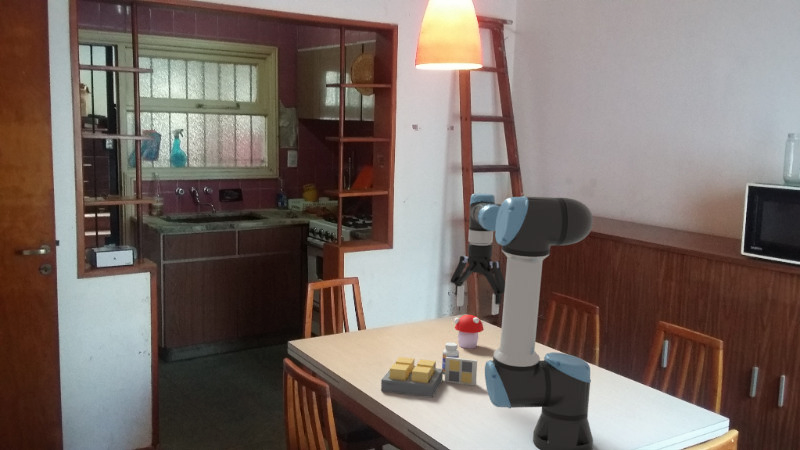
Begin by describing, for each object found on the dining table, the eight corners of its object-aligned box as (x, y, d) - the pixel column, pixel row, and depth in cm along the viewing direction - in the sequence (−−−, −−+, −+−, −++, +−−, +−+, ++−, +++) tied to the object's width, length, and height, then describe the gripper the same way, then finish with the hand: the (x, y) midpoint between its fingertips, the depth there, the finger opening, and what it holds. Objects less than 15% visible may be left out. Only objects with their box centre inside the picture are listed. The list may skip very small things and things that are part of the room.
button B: (405, 382, 220) (405, 370, 220) (389, 381, 221) (389, 368, 221) (409, 377, 225) (409, 365, 224) (393, 375, 226) (393, 363, 226)
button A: (427, 385, 218) (427, 372, 218) (411, 383, 220) (411, 371, 219) (430, 380, 223) (431, 367, 223) (415, 378, 224) (415, 366, 224)
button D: (410, 375, 227) (410, 363, 226) (395, 373, 228) (395, 361, 228) (414, 370, 232) (414, 358, 231) (399, 368, 233) (399, 356, 232)
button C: (432, 378, 225) (432, 365, 225) (416, 376, 226) (417, 364, 226) (435, 373, 230) (435, 361, 229) (420, 371, 231) (420, 359, 231)
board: (432, 397, 216) (432, 385, 216) (381, 390, 220) (381, 379, 220) (442, 379, 232) (442, 369, 231) (394, 374, 236) (394, 363, 235)
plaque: (475, 385, 227) (476, 361, 226) (444, 382, 230) (445, 357, 229) (476, 384, 229) (477, 360, 228) (445, 380, 231) (446, 356, 230)
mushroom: (448, 343, 272) (449, 312, 271) (473, 340, 277) (474, 309, 275) (462, 351, 263) (463, 319, 261) (488, 348, 267) (489, 316, 266)
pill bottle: (439, 373, 238) (440, 344, 237) (445, 368, 243) (447, 340, 242) (454, 376, 236) (455, 347, 234) (460, 371, 240) (461, 343, 239)
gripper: (521, 247, 218) (517, 315, 221) (456, 237, 234) (453, 300, 237) (507, 250, 212) (503, 319, 215) (441, 239, 229) (438, 304, 232)
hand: (477, 309), depth 226 cm, fingers open, 13 cm apart
